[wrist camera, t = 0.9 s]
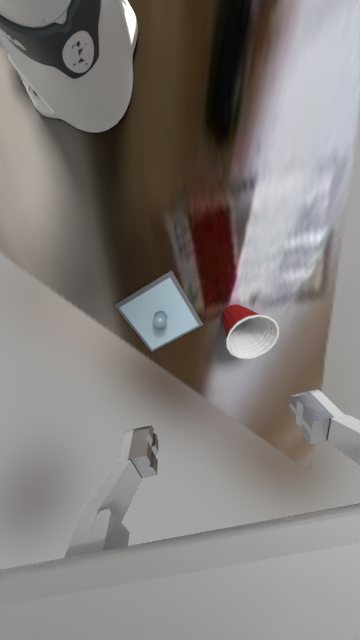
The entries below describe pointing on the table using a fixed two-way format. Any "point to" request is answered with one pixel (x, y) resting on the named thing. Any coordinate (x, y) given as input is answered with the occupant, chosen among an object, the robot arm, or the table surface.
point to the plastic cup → (248, 332)
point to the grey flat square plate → (149, 286)
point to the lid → (159, 314)
